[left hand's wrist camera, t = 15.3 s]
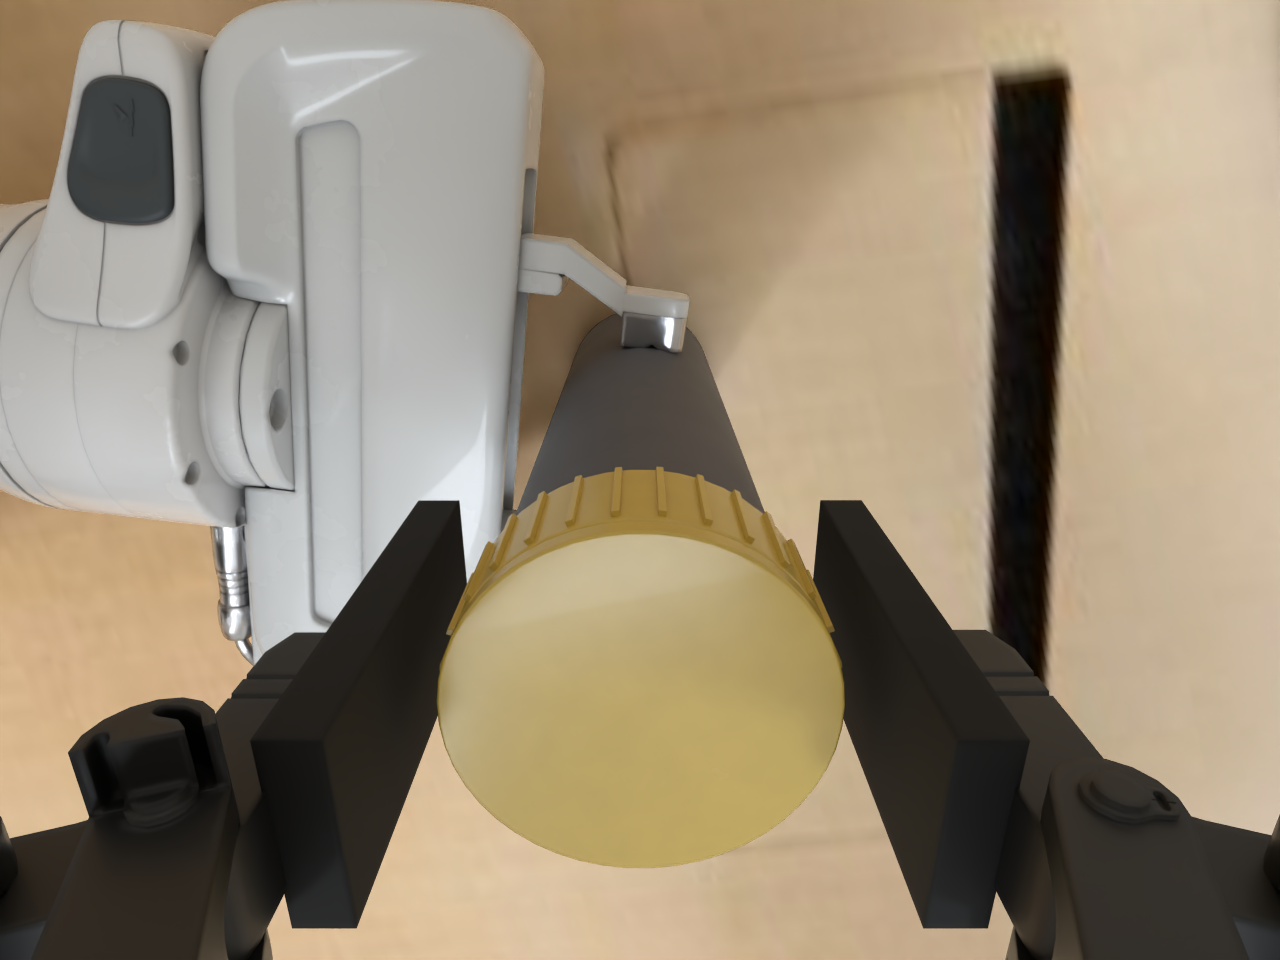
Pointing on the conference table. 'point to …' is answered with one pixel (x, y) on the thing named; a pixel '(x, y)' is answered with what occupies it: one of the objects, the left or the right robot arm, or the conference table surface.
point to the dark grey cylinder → (639, 418)
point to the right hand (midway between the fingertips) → (670, 428)
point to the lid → (640, 672)
